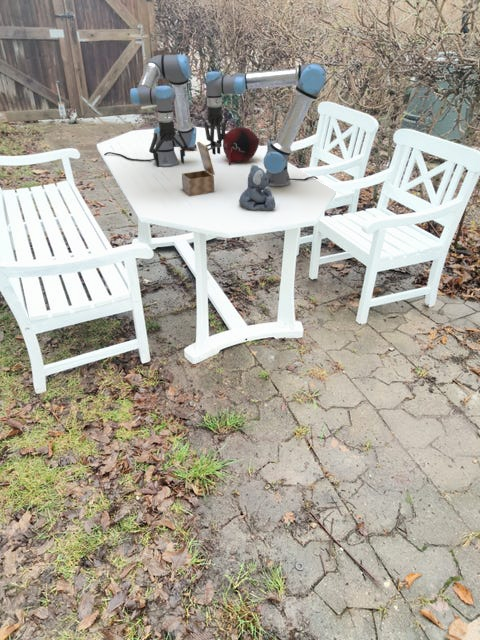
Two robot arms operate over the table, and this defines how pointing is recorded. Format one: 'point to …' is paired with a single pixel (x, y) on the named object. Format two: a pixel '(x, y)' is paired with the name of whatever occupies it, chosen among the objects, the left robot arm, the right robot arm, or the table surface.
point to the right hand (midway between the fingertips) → (216, 153)
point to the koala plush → (257, 191)
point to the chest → (198, 182)
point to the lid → (207, 156)
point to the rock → (192, 147)
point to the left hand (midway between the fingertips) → (170, 164)
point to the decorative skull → (240, 144)
